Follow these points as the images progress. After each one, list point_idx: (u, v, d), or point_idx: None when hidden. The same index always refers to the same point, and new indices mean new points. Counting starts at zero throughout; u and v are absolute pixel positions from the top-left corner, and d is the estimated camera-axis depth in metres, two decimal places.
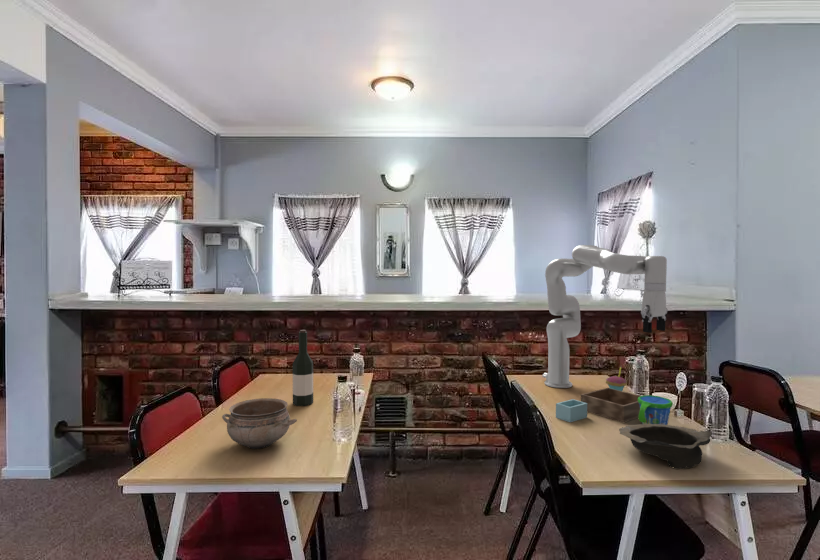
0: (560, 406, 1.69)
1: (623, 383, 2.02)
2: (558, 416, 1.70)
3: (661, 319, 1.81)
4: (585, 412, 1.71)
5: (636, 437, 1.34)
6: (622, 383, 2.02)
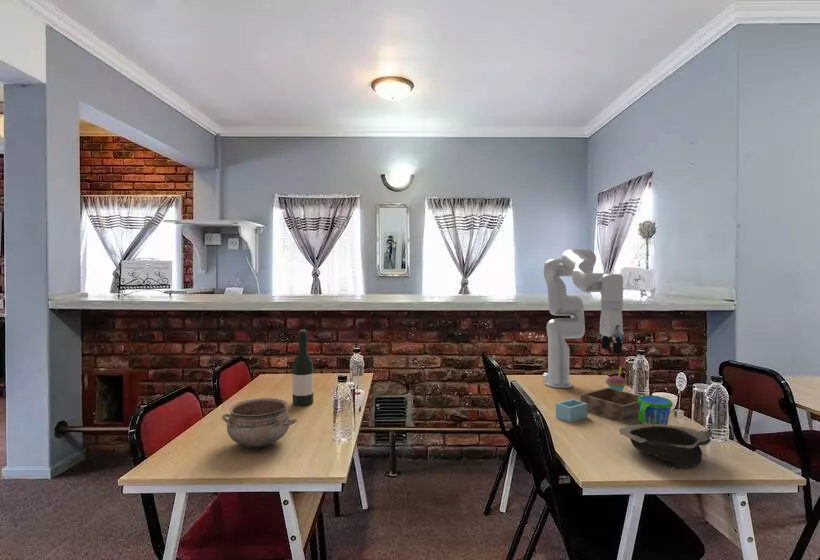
0: (560, 406, 1.69)
1: (623, 383, 2.02)
2: (558, 416, 1.70)
3: (606, 337, 1.79)
4: (585, 412, 1.71)
5: (636, 437, 1.34)
6: (622, 383, 2.02)
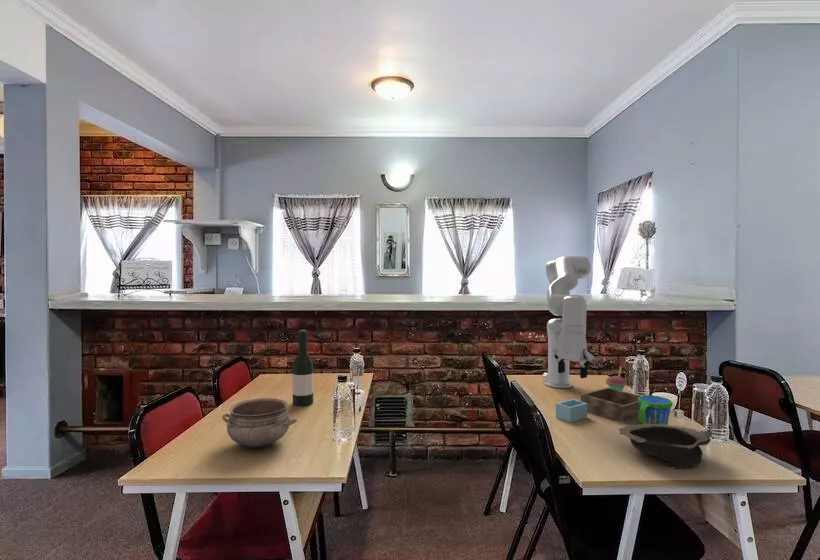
0: (560, 406, 1.69)
1: (623, 383, 2.02)
2: (558, 416, 1.70)
3: (562, 361, 1.75)
4: (585, 412, 1.71)
5: (636, 437, 1.34)
6: (622, 383, 2.02)
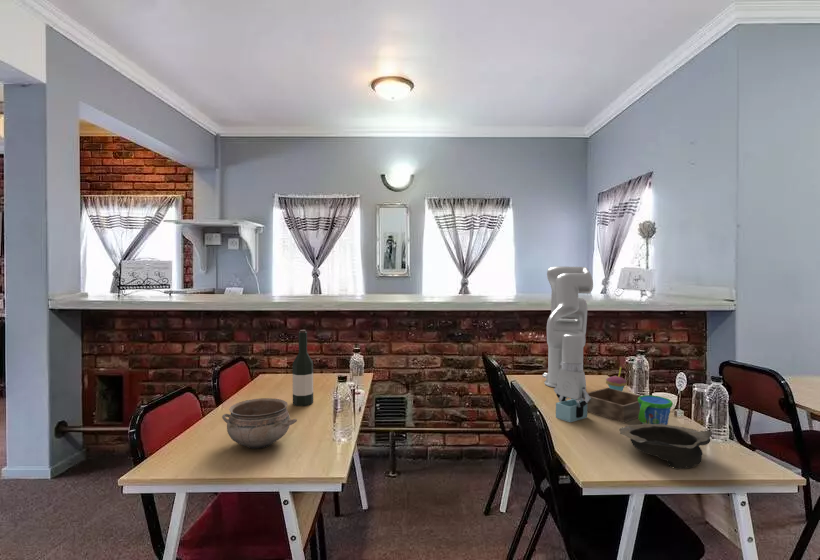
0: (560, 406, 1.69)
1: (623, 383, 2.02)
2: (558, 416, 1.70)
3: (564, 400, 1.74)
4: (585, 412, 1.71)
5: (636, 437, 1.34)
6: (622, 383, 2.02)
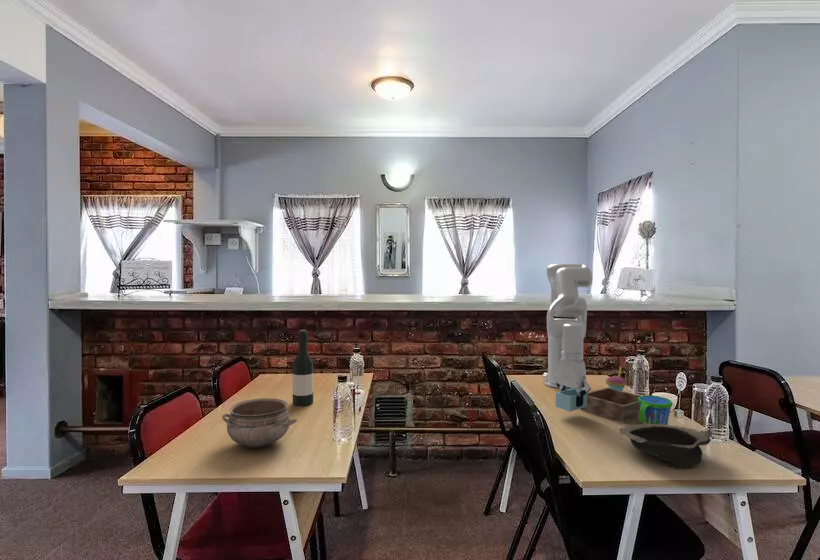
0: (560, 395, 1.70)
1: (623, 383, 2.02)
2: (558, 405, 1.71)
3: (564, 389, 1.75)
4: (585, 401, 1.71)
5: (636, 437, 1.34)
6: (622, 383, 2.02)
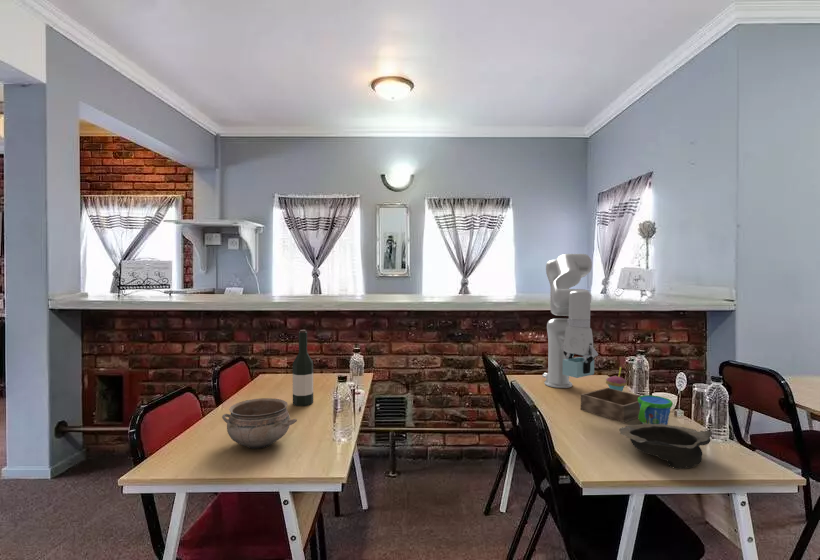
0: (567, 362, 1.70)
1: (623, 383, 2.02)
2: (565, 372, 1.71)
3: (571, 357, 1.75)
4: (592, 368, 1.71)
5: (636, 437, 1.34)
6: (622, 383, 2.02)
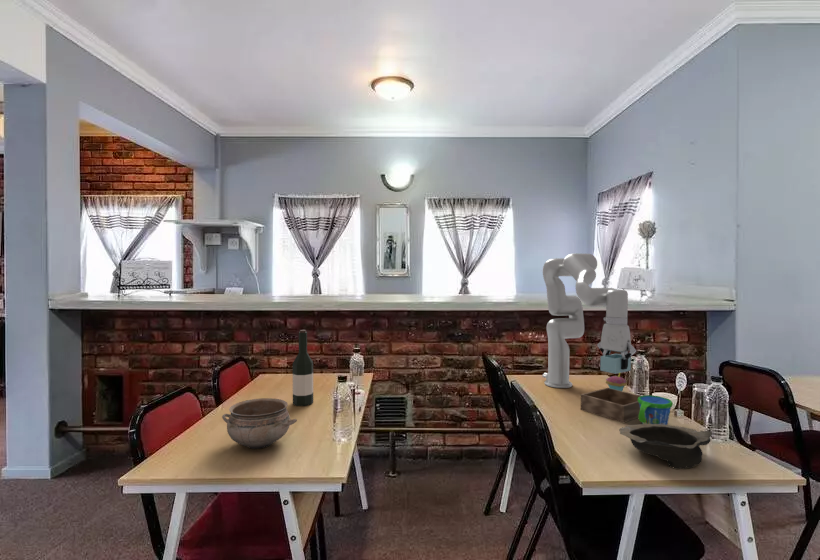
0: (605, 358, 1.76)
1: (623, 383, 2.02)
2: (603, 368, 1.77)
3: (608, 354, 1.81)
4: (629, 365, 1.77)
5: (636, 437, 1.34)
6: (622, 383, 2.02)
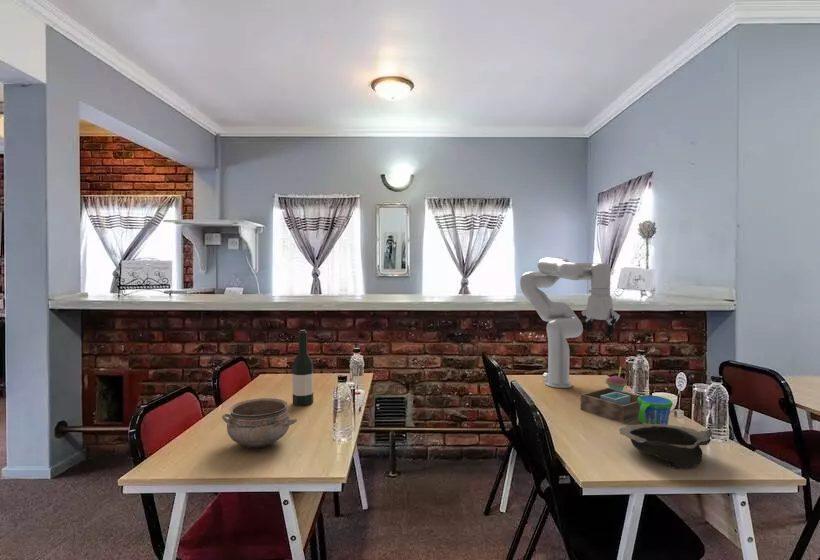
0: (605, 398, 1.76)
1: (623, 383, 2.02)
2: None
3: (590, 321, 1.99)
4: None
5: (636, 437, 1.34)
6: (622, 383, 2.02)
